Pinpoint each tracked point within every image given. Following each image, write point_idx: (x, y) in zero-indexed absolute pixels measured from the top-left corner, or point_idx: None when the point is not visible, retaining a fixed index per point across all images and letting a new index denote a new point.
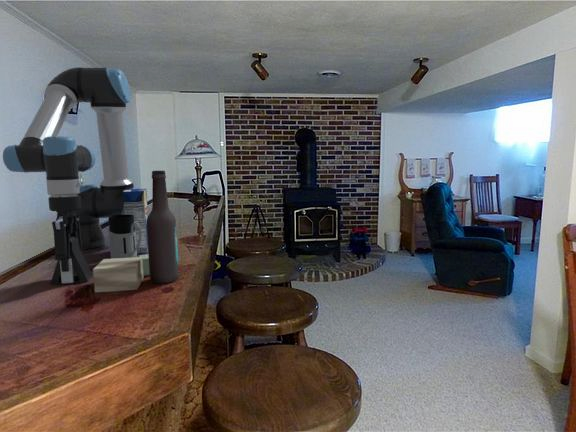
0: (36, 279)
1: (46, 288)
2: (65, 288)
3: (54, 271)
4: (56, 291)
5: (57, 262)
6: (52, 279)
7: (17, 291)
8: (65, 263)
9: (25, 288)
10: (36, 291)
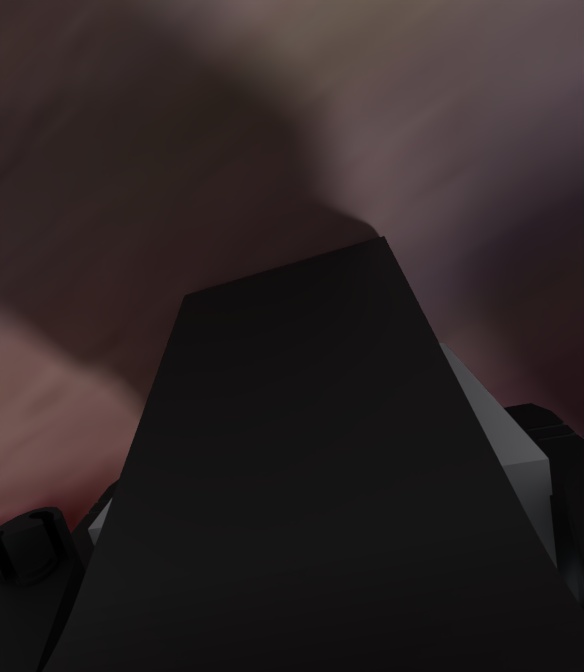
0: (351, 21)
1: (106, 310)
2: (123, 454)
3: (161, 367)
4: (56, 426)
5: (134, 453)
6: (178, 321)
7: (4, 101)
8: None
9: (83, 117)
10: (32, 274)
